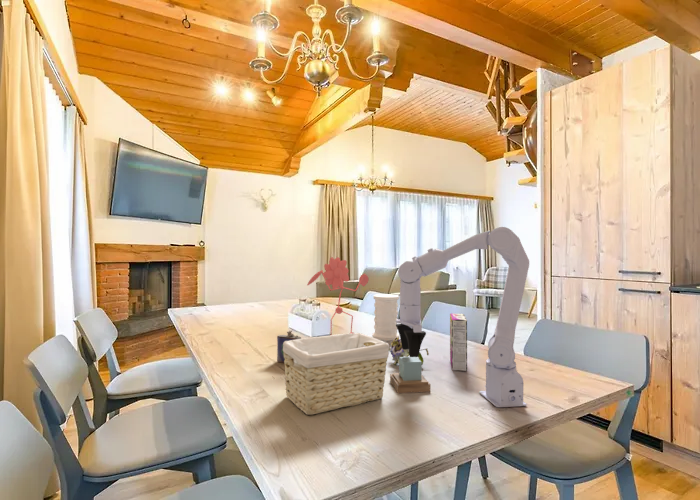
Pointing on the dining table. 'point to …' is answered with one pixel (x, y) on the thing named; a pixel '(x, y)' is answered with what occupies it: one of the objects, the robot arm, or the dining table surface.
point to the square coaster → (409, 384)
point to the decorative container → (385, 317)
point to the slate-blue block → (410, 368)
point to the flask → (280, 341)
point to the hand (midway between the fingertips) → (410, 352)
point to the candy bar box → (458, 342)
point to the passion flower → (401, 351)
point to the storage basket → (334, 371)
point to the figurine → (338, 279)
